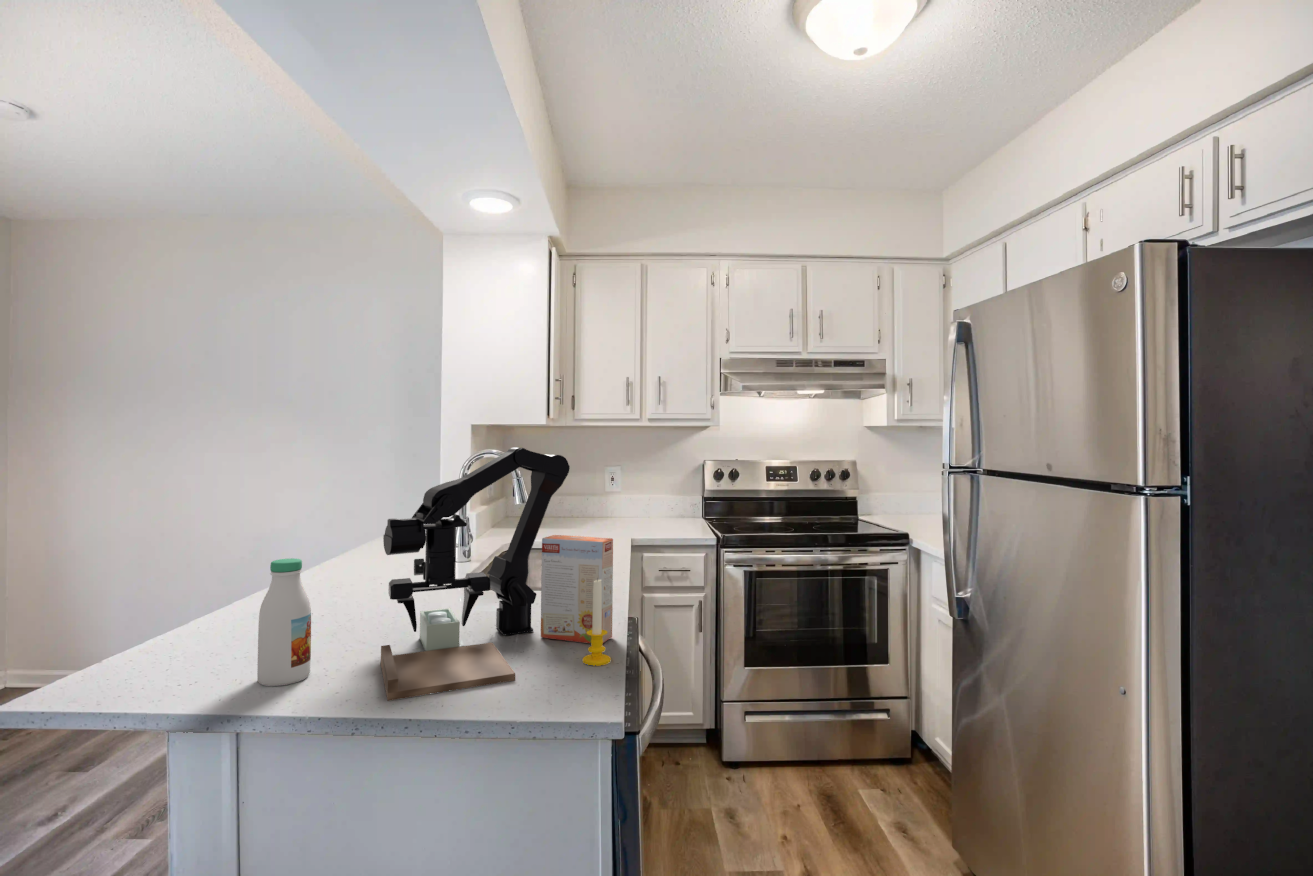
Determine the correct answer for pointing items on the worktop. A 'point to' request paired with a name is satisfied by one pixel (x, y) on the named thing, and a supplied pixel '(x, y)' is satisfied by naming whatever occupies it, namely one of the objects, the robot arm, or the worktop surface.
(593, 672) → the worktop surface
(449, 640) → the pale green crate
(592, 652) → the candle
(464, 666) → the walnut shelf
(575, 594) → the cracker box
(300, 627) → the milk bottle
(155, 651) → the worktop surface
